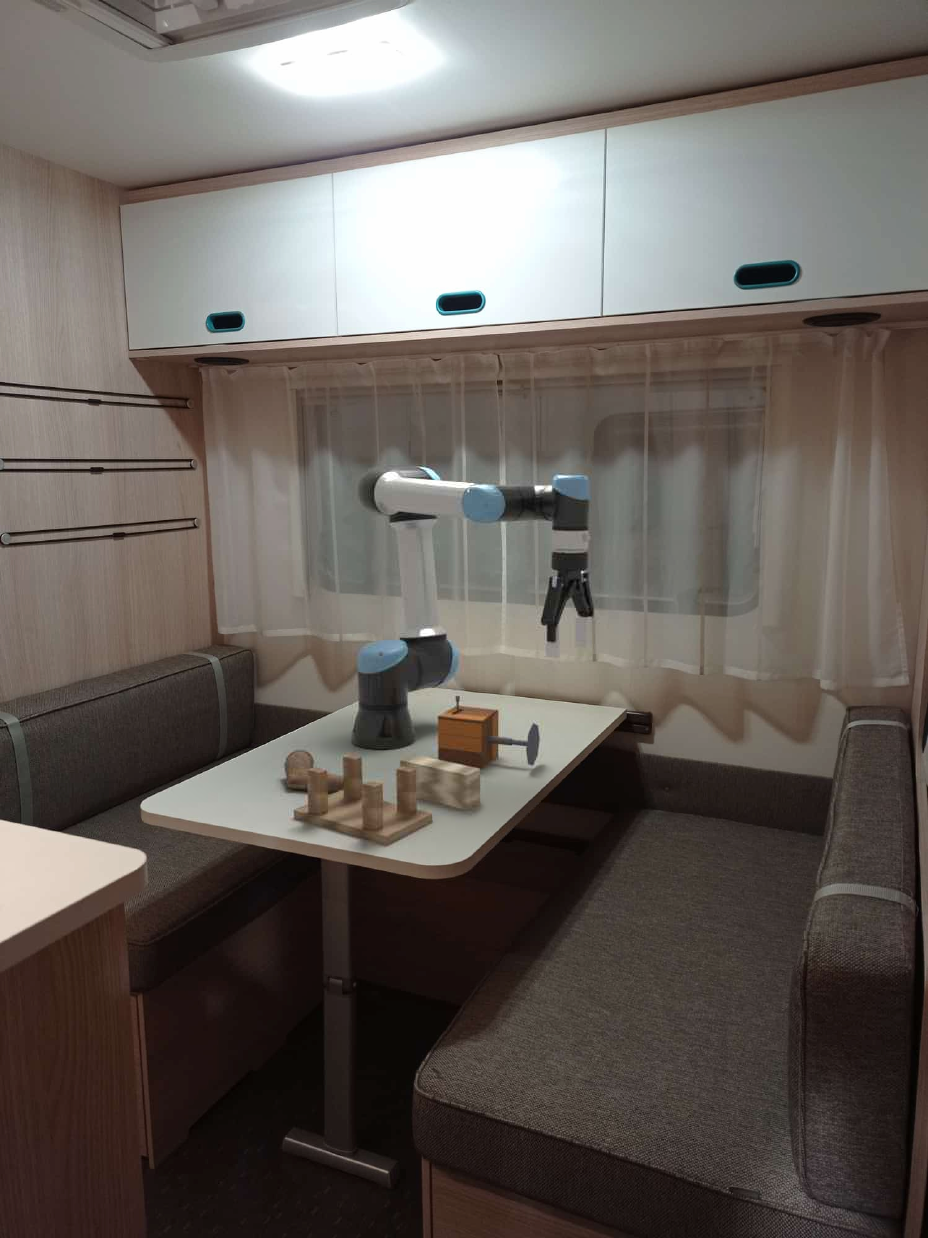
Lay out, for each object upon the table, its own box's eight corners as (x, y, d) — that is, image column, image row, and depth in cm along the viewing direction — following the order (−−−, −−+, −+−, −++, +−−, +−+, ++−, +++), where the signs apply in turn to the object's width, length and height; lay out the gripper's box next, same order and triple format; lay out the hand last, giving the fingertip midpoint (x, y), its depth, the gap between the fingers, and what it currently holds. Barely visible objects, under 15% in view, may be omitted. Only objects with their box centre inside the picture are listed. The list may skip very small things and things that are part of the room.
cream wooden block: (400, 794, 177) (400, 760, 176) (414, 787, 181) (414, 754, 180) (466, 811, 168) (466, 775, 167) (480, 803, 172) (480, 768, 170)
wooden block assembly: (293, 817, 164) (292, 768, 163) (341, 797, 175) (340, 750, 173) (386, 845, 152) (385, 791, 150) (432, 821, 162) (432, 770, 161)
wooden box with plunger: (524, 776, 187) (525, 709, 185) (438, 764, 195) (437, 700, 193) (540, 761, 197) (541, 698, 195) (457, 751, 205) (457, 690, 203)
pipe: (346, 775, 174) (363, 751, 183) (267, 768, 178) (287, 746, 187) (349, 804, 176) (365, 779, 185) (270, 797, 180) (290, 773, 189)
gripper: (559, 556, 172) (556, 664, 175) (611, 547, 193) (608, 644, 196) (524, 554, 176) (523, 659, 179) (579, 546, 197) (577, 641, 200)
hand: (567, 652), depth 188 cm, fingers open, 13 cm apart
